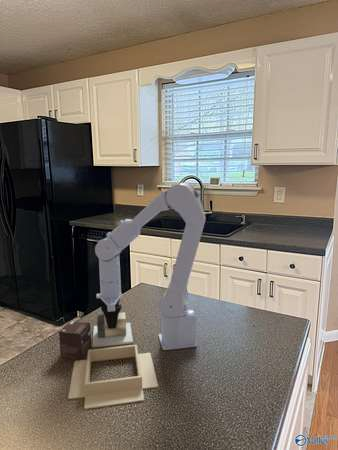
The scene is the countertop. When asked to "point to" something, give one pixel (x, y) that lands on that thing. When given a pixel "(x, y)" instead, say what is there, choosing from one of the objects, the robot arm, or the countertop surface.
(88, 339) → the box
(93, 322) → the countertop surface
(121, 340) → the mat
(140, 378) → the carton
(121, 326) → the block
